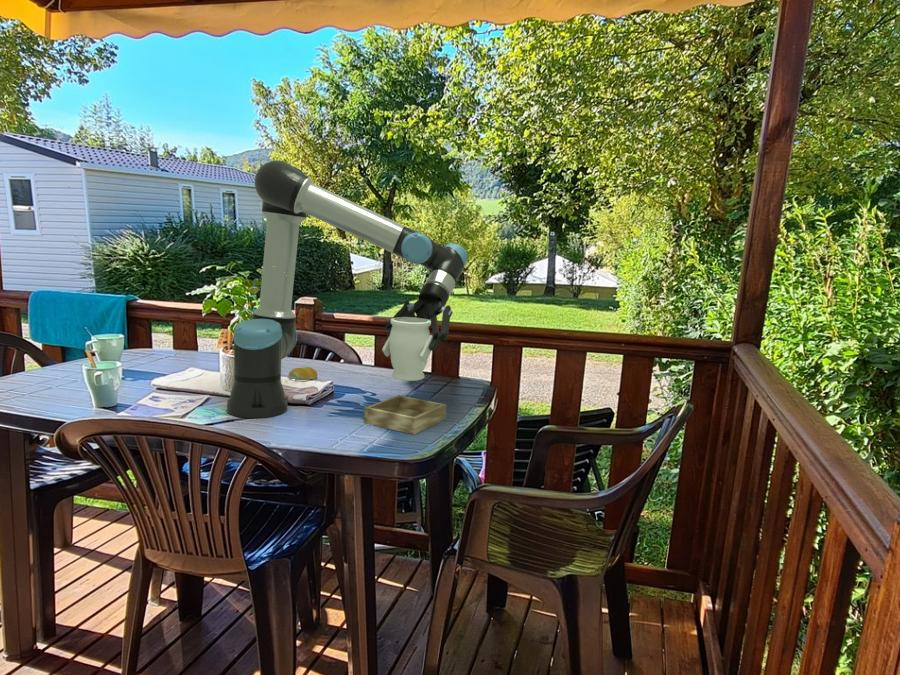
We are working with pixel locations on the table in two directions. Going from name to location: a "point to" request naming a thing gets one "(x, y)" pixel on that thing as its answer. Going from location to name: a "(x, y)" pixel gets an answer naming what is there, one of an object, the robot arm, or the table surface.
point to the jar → (408, 347)
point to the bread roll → (303, 373)
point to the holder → (405, 414)
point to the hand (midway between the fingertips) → (403, 356)
